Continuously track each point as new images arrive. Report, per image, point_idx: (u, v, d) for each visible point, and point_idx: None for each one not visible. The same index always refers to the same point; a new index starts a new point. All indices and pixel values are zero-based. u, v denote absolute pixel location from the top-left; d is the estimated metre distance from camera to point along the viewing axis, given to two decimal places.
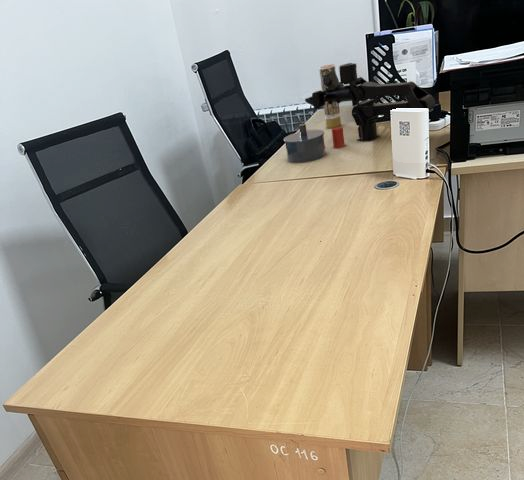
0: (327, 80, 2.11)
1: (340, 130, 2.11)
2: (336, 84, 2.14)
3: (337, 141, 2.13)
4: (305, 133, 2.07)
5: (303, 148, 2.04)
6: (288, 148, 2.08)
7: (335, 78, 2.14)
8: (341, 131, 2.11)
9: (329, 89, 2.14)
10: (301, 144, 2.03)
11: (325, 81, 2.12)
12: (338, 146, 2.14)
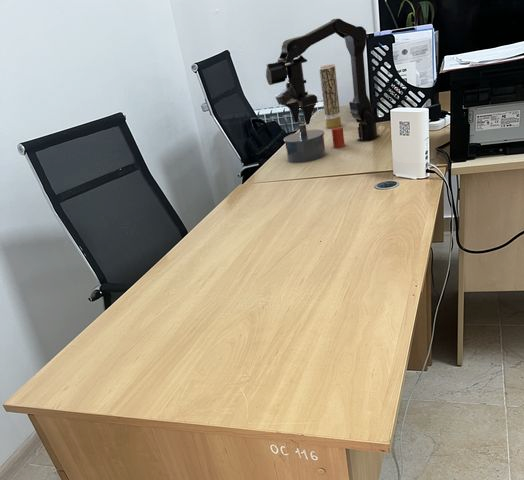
0: (287, 94, 1.94)
1: (340, 130, 2.11)
2: (288, 88, 1.98)
3: (337, 141, 2.13)
4: (305, 133, 2.07)
5: (303, 148, 2.04)
6: (288, 148, 2.08)
7: (282, 92, 1.98)
8: (341, 131, 2.11)
9: (294, 93, 1.97)
10: (301, 144, 2.03)
11: (288, 96, 1.95)
12: (338, 146, 2.14)
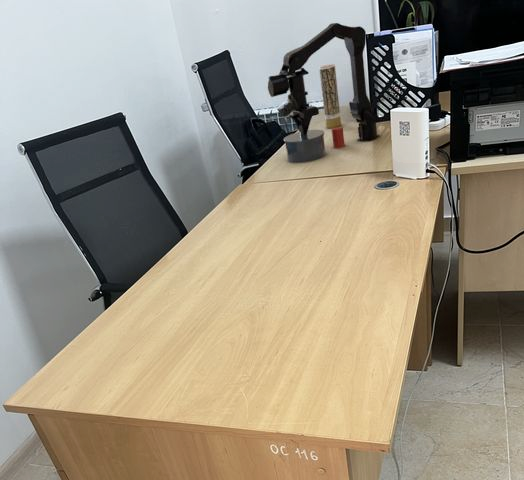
0: (289, 105, 1.96)
1: (340, 130, 2.11)
2: (289, 100, 2.00)
3: (337, 141, 2.13)
4: None
5: (303, 148, 2.04)
6: (288, 148, 2.08)
7: (284, 103, 2.00)
8: (341, 131, 2.11)
9: (296, 105, 1.99)
10: (301, 144, 2.03)
11: (290, 108, 1.97)
12: (338, 146, 2.14)
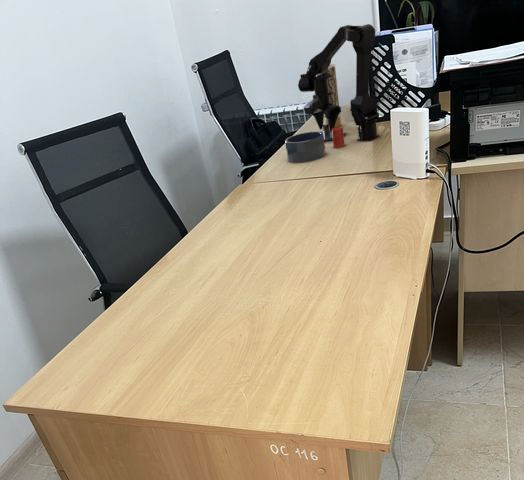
0: (314, 105, 2.20)
1: (340, 130, 2.11)
2: (314, 100, 2.23)
3: (337, 141, 2.13)
4: (328, 132, 2.30)
5: (303, 148, 2.04)
6: (288, 148, 2.08)
7: (309, 103, 2.24)
8: (341, 131, 2.11)
9: (320, 104, 2.22)
10: (301, 144, 2.03)
11: (315, 107, 2.20)
12: (338, 146, 2.14)
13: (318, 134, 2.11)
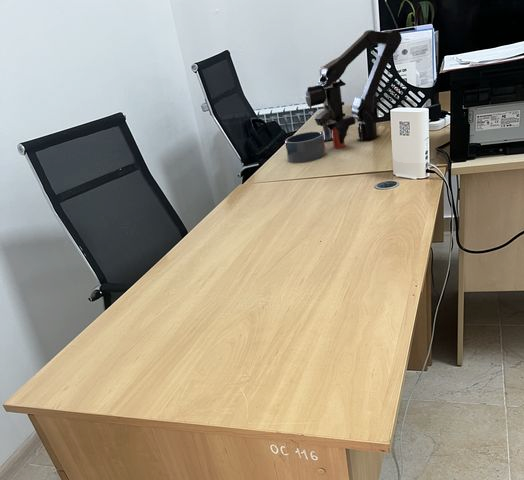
0: (326, 115, 2.04)
1: None
2: (326, 110, 2.07)
3: (337, 141, 2.13)
4: (328, 132, 2.30)
5: (303, 148, 2.04)
6: (288, 148, 2.08)
7: (321, 113, 2.08)
8: None
9: (333, 114, 2.06)
10: (301, 144, 2.03)
11: (327, 118, 2.04)
12: (338, 146, 2.14)
13: (318, 134, 2.11)
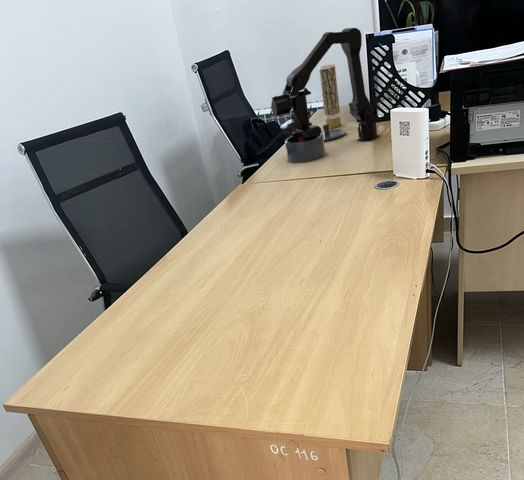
0: (292, 125, 2.00)
1: None
2: (292, 119, 2.03)
3: None
4: (328, 132, 2.30)
5: (303, 148, 2.04)
6: (288, 148, 2.08)
7: (287, 123, 2.04)
8: None
9: (299, 124, 2.02)
10: (301, 144, 2.03)
11: (293, 128, 2.01)
12: None
13: (318, 134, 2.11)
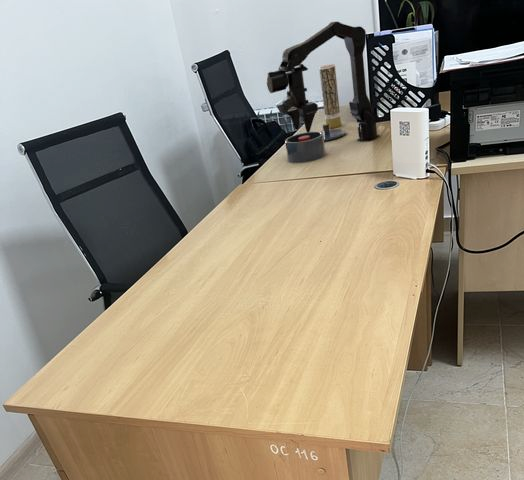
0: (288, 102, 1.96)
1: (307, 139, 2.07)
2: (288, 96, 1.99)
3: None
4: (328, 132, 2.30)
5: (303, 148, 2.04)
6: (288, 148, 2.08)
7: (283, 100, 2.00)
8: None
9: (295, 101, 1.98)
10: (301, 144, 2.03)
11: (289, 104, 1.96)
12: None
13: (318, 134, 2.11)
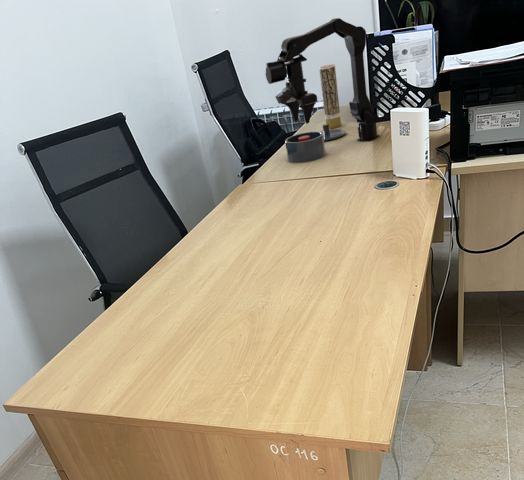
0: (287, 92, 1.94)
1: (307, 139, 2.07)
2: (287, 87, 1.97)
3: None
4: (328, 132, 2.30)
5: (303, 148, 2.04)
6: (288, 148, 2.08)
7: (282, 91, 1.98)
8: None
9: (294, 92, 1.96)
10: (301, 144, 2.03)
11: (288, 95, 1.95)
12: None
13: (318, 134, 2.11)
